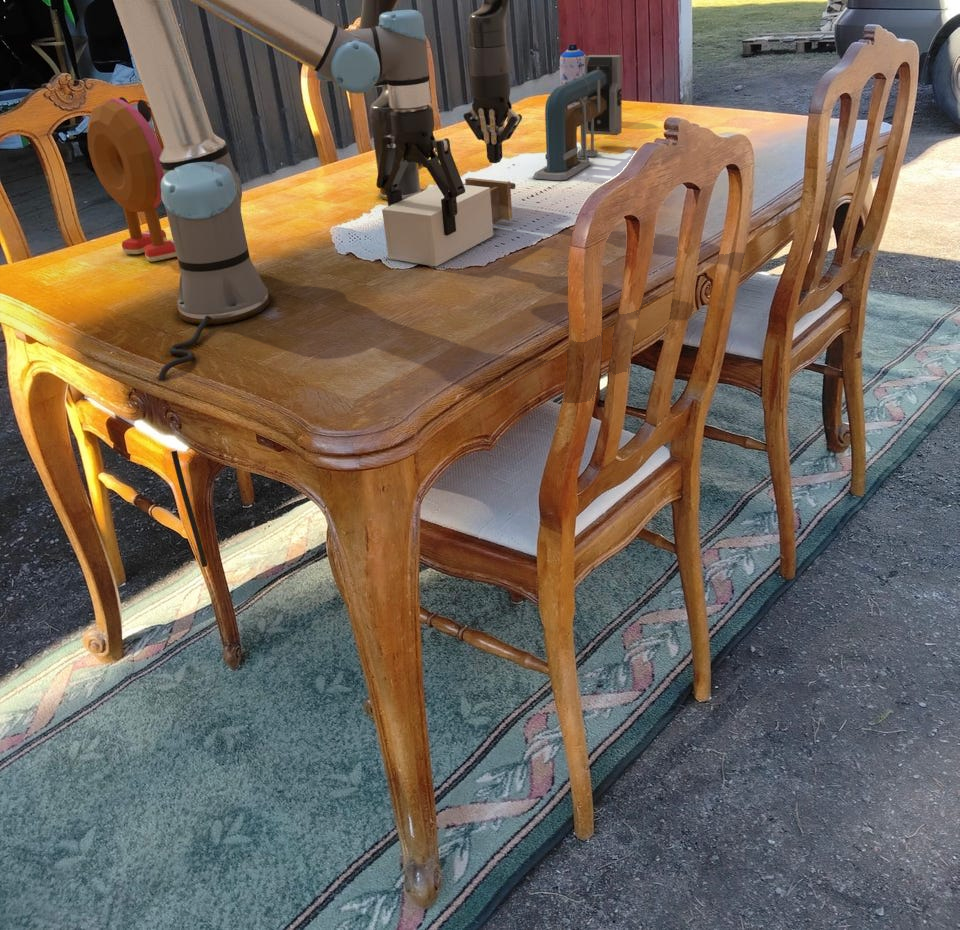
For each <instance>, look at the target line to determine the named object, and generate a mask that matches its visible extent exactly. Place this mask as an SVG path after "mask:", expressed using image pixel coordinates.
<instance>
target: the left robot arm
mask: <svg viewBox="0 0 960 930" xmlns="http://www.w3.org/2000/svg"><path fill="white" fill-rule="evenodd" d="M112 1H113V4H114V8H115V10H116V14H117V16H118V19H119V22H120V25H121V27H122V30H123V33H124V36H125V39H126V41H127V44H128V47H129V50H130V52H131V56H132V59H133V62H134V64H135V68H136V71H137V72H138V76H139V80H140V82H141V85H142V87H143V90H144V93H145V96H146V99H147V102H148V104H149V105H148V106H149V109H150V111H151V114H152V116H153V119H154V122H155V125H156V127H157V131H158V133H159V136H160V139H161V143H162V145H163V148H162V153H161V155H160V157H159V160H160V163H161V166H162V169H163V172H164V176H163V178H162V180H161V191H162V192H161V198H162V201H161V203H162V204H163V206H164V208H165V212H166V217H167V220H168V225H169V229H170V234H171V237H172V240H173V242H174V246H175V250H176V255H177V257H176V258H177V262H178V266H179V283H178V294H177V310H178V314H179V318H180V319H182V320H183V321H184V322H186V323H189V324H193V325H197V327H196V330H195V333H194V334H193V336H192V337H190V338H189V340H187V341H183V342H179V343H175V344H173V345H171V346H170V347H169V348H168V350H169V353H170V354H171V355H176V356H182V357H179V358H176V359H173V360H171V361H169V362H167V363H166V364H165V365H164V366H163V367H162V368H161V370H160V371H159V374H158V377H157V381H158V382H162V381H164V380H165V378H166V375H167V373H168V371H170V370H171V369H172V368H173V367H176V366H178V365H182V364H185V363H189V362H191V361H192V360H194V358H195V353H194V352H193V351H191V350H188V349H184V348H187V347H190V346H193V345H194V344H196V342H197V341H198V340H199V339H200V336H201V334H202V333H203V330H204V329H205V328H206V327H207V326H210V325H222V324H230V323H233V322H239V321H241V320H245V319H248V318H251V317H253V316H256V315H258V314H260V312H263V311H264V310H265V309H266V308H267V307H268V306H269V305H270V296H269V291H268V288H267V287H266V284H265V283H264V282H263V280H262V278H261V276H260V274H259V272H258V270H257V269H256V267H255V265H254V264H253V262H252V260H251V257H250V251H249V246H248V241H247V236H246V232H245V227H244V222H243V221H244V220H243V217H242V198H243V197H242V196H243V185H242V181H241V178H240V174H239V173H238V171H237V170H236V167H234V165H233V161H232V158H231V155H230V151H229V149H228V145H227V143H226V142H227V141H225V140H224V139H223V138H221V137H219V136H218V135H216V134H215V133H214V131H213V128H212V125H211V122H210V119H209V115H208V113H207V109H206V107H205V103H204V100H203V97H202V94H201V91H200V90H201V89H200V88H199V87H200V86H199V84H198V81H197V78H196V75H195V72H194V69H193V65H192V62H191V60H190V56H189V53H188V50H187V47H186V44H185V40H184V38H183V34H182V32H181V28H180V25H179V23H178V18H177V16H176V13H175V9H174V6H173V3H172V1H171V0H112ZM189 1H190V2H192V3H194V4H195V5H197V6H199V7H200V8H203V9H204V10H206V11H208V12H209V13H211V14H213V15H215V16H217V17H218V18H221V19H222V20H224V21H226V22H228V23H229V24H231V25H232V26H235V27H236V28H238V29H240V30H241V31H243V32H245V33H247V34H249V35H250V36H252V37H254V38H256V39H257V40H260V41H262V42H263V43H265V44H267V45H268V46H270V47H272V48H274V49H276V50H277V51H279V52H281V53H283V54H285V55H287V56H288V57H290V58H292V59H294V60H295V61H297V62H298V63H300V64H303V65H304V66H306V67H308V68H310V69H311V70H313V71H314V73H315V77H316V79H317V80H318V81H320V82H334V83H335V84H336V85H337V86H338V87H339V88H340V89H341V90H343V91H346V92H347V93H350V94H357V95H358V94H364V93H366V92H368V91H370V90H371V89H372V88H374V87H373V86H374V85H375V84H376V82H377V81H378V78H379V75H381V74H386V78H387V89H388V98H389V106H390V107H391V108H392V109H393V110H392V111H391V113H390V114H391V122H392V130H393V132H394V133H395V136H394V135H393V134H390V135H387V136H384V137H382V138H381V143H382V153H381V159H380V165H379V171H378V170H377V178H376V184H375V185H376V187H377V188H378V189H380V188H382V189H384V190H385V192H386V193H387V200H386V201H387V207H388V206H390V205H393V204H395V203H397V202H399V201H402V193H401V190H396V189H397V188H399V187H398V185H399V183H400V180H401V178H402V176H403V174H404V171H405V169H406V167H407V165H408V163H409V162H416V163H422V164H421V165H422V166H423V167H424V168H426V170H427V171H428V173H429V174H430V176H431V178H432V179H433V182H434V183H435V184H436V185H437V186H438V187H439V189H440V191H441V192H442V194H443V196H444V198H443V199H441V205H442V215H443V225H444V235H450V234H452V233H454V232H456V222H455V215H457V212H458V211H457V200H456V198H457V196H459V195H461V194H463V193H465V188H464V185H463V184H464V182H463V179H462V178H461V175H460V172H459V170H458V166H457V165H456V161H455V159H454V156H453V154H452V150H451V143H450V142H451V141H450V139H449V138H447V137H445V138H443V139H436V137H435V136H434V129H435V116H434V109H433V107H432V106H430V105H432V103H433V97H432V89H431V78H430V67H429V56H428V55H429V54H428V43H427V42H428V39H427V36H426V35H427V34H426V29H425V21H424V16H423V14H422V13H421V12H420V11H418V10H415V9H400V10H393V11H392V12H385V13H382V14H381V15H380V17H379V26H376V27H373V28H367V29H359V28H357V29H346V30H345V29H343V28H341V27H339V26H338V25H336V24H335V23H333V22H331V21H330V20H328V19H327V18H325V17H323V16H321V15H320V14H318V13H316V12H315V11H313V10H311V9H309V8H308V7H306V6H305V5H302V4H301V3H299V2H297V1H296V0H189ZM395 147H397V148H398V150H399V152H398V154H397V156H396V159H395V161H396V162H395V164H394V166H393V160H394V155H395ZM392 166H393V169H392ZM448 190H449V191H448ZM170 453H171V458H172V461H173V467H174V470H175V474H176V477H177V478H176V479H177V482H178V485H179V489H180V493H181V496H182V499H183V503H184V506H185V511H186V513H187V516H188V521H189V523H190V528H191V530H192V535H193V538H194V541H195V544H196V548H197V552H198V556H199V560H200V563H201V567H202V568H206V567H208V561H207V558H206V557H207V556H206V553H205V549H204V546H203V543H202V538H201V535H200V532H199V528H198V524H197V521H196V518H195V514H194V510H193V507H192V503H191V500H190V497H189V493H188V489H187V485H186V482H185V479H184V478H185V477H184V474H183V470H182V466H181V462H180V458H179V454H178V450H173V451H171V452H170Z"/></svg>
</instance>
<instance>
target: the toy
mask: <svg viewBox="0 0 960 930" xmlns="http://www.w3.org/2000/svg"><path fill="white" fill-rule="evenodd" d="M151 119H152V112H151V108H150V106H149V105H148V103H147V102H146V101H145V100H144V99H139V100H138V101H137V108H136V107H134V106H133V105H132V104H130V103H129V102H128V100H127V99H126V98H125V97H124V96H121V97H119V98H116V97H112V98H110V99H108V100H106V101H103V102H101V103H100V104H97V105H96V106H94V108H92V110H91V112H90V116H89V118H88V122H87V132H86V134H87V135H86V137H87V150H88V153H89V158H90V161H91V164H92V167H93V170H94V172H95V174H96V176H97V178H98V180H99V182H100V184H101V185H102V186H103V188H104V189H105V191H106V192H107V193H108V195H109V196H110V197H111V198H112V199H113V200H114V201H115V202H116V203H117V204H118V206H121V207H122V209H123V213H124V217H125V220H126V225H127V229H128V232H129V236H130V237H128V238H127V239H124V240H122V242H121V247H122V251H123V253H125V254H129V255H140V254H143V253H144V256H145V258H146V260H147V261H149V262H151V263H153V262H157V261H162V260H167V259H172V258H177V255H176V250H175V246H174V242H173V239H170V240H168V238H167V233H166V231H165V230H164V229H162V225H161V221H160V217H159V214H158V210H157V208H158V207H159V206H160V205H161V204H162V198H161V192H162V191H161V180H162V178H163V176H164V172H163V169H162V166H161V163H160V160H159V157H160V155H161V153H162V150H163V148H162V147H161V144H160V141H159V140H158V137H157V135H156V133H155V131H154V129H153V128H152V126H151V125H150V124H149V122H151ZM138 213H143V214H144V217H145V221H146V224H147V227H148V229H146V230H144V231H142V229H141V224H140V220H139V219H140V218H139V215H138Z"/></svg>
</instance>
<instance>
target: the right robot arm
mask: <svg viewBox="0 0 960 930" xmlns="http://www.w3.org/2000/svg"><path fill="white" fill-rule="evenodd" d="M399 1H400V0H362V2H361V14H360V20H359V21H360V22H359V28H358V29H367V28H373V27H376V26H379V17H380V15H381V14H382V13H385V12H392V11H395V8H396V6H397V4H399ZM509 4H510V0H482V4H481V7H480V8H479V9H477V10H476V11H474V12H472V13H471V14H470V15H469V16H468V24H467V25H468V39H469V40H468V41H469V58H468V60H469V61H468V62H469V74H470V77H469V78H470V89H471V97H472V98H473V101H472V104H471V109H470V110H469V111H467V112H465V113H464V114H463V116H462V117H463V119H464V121H465V122H466V124H467V126H469V128H470V130H471V131H472V133H473V135H474V136H475V137H476V139H477V140H478V141H483V142H484V144H485V147H486V158H487V160H488V162H489V163H490V164H498V163H501V161H502V159H503V142H505V141H508V140H509V139H511V138H512V135H514V132H515V131H516V129H517V128H518V126H519V124H520V123H521V122H522V120H523V116H522V114H521V113H518V114H517V113H516V112H515V111H514V110H513V105H512V103H511V101H510V95H511V79H510V59H509V58H510V57H509V52H508V44H507V25H506V21H507V20H506V19H507V14H508V9H509ZM379 87H382V91H381V93H380V95H379V96H378V98H376V100H375V101H373V102H372V103H371V105H370V107H369V115H370V121H371V128H372V130H371V131H372V137H373V147H374V153H375V161H376V168H377V172H378V171H379V165H380V159H381V153H382V143H381V138H382V137H384V136H387V135H390V134H393V135H394V136H395V133H394V132H393V130H392V122H391V114H390V113H391V111H392V110H393V109H392V108H391V107H390V106H389V98H388V89H387V78H386V74H381V75H379V78H378V81H377V82H376V84H375V85H374V86H373V87H372V88H379ZM505 123H506V125H505ZM398 152H399V150H398V148H397V147H395V155H394V160H393V166H394V164H395V162H396V161H395V159H396V156H397V154H398ZM421 165H422V163H416V162H409V163H408V165H407V167H406V169H405V171H404V174H403V176H402V178H401V180H400V183H399V185H398V187H399V188H397V189H396V190H401V193H402V200H404V199H406V198H408V197H411V196H413V195H415V194H418V193H420V192H422V188H421V181H420V173H419V172H420V171H419V167H420V166H421ZM393 166H392V169H393ZM379 197H380V198H381V199H382V200H386V201H388V200H387V193H386V192H385V190H384V189H382V188H379Z"/></svg>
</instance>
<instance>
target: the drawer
mask: <svg viewBox="0 0 960 930" xmlns="http://www.w3.org/2000/svg"><path fill="white" fill-rule="evenodd" d="M464 182H465V183H464ZM464 182H463V185H471V186H480V187H489V188H490V196H491V210H492V224H493V225H494V224H495V223H498V222H499V221H501V220H503V221H511V220H513V205H512V190H515V189H516V186H517V185H516V183H515V182H511V181H506V180H505V181H503V180H494V179H485V178H475V177H467V178H465V179H464Z"/></svg>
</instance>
